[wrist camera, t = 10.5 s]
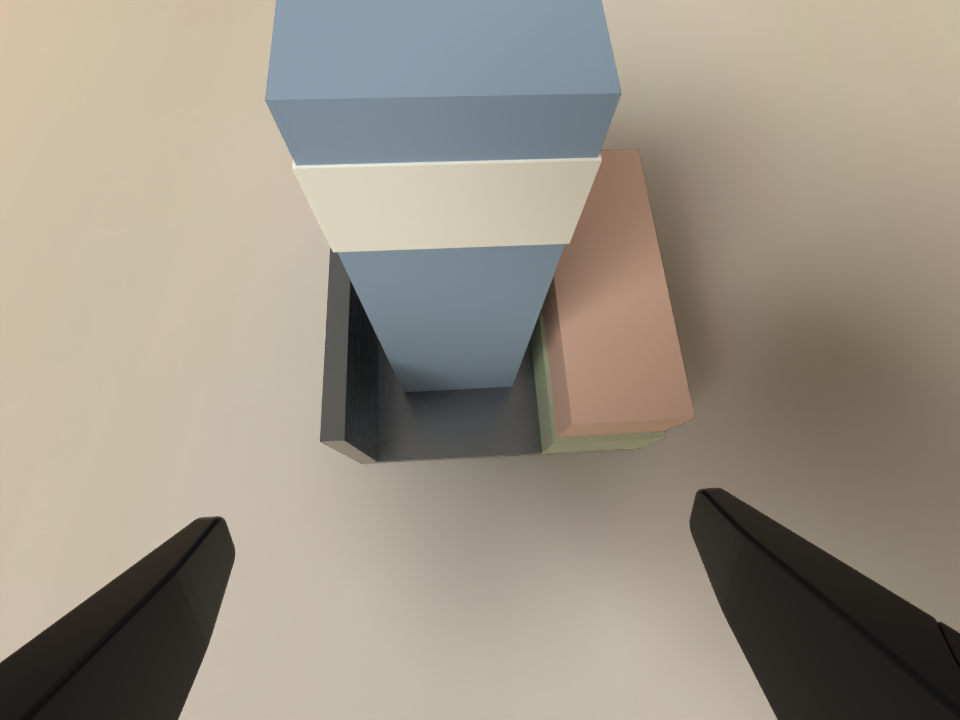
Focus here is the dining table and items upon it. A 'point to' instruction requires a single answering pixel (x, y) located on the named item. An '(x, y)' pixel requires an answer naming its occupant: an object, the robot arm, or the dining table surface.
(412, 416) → the steel bookend
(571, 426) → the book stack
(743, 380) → the dining table surface
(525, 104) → the blue-grey rectangular block
